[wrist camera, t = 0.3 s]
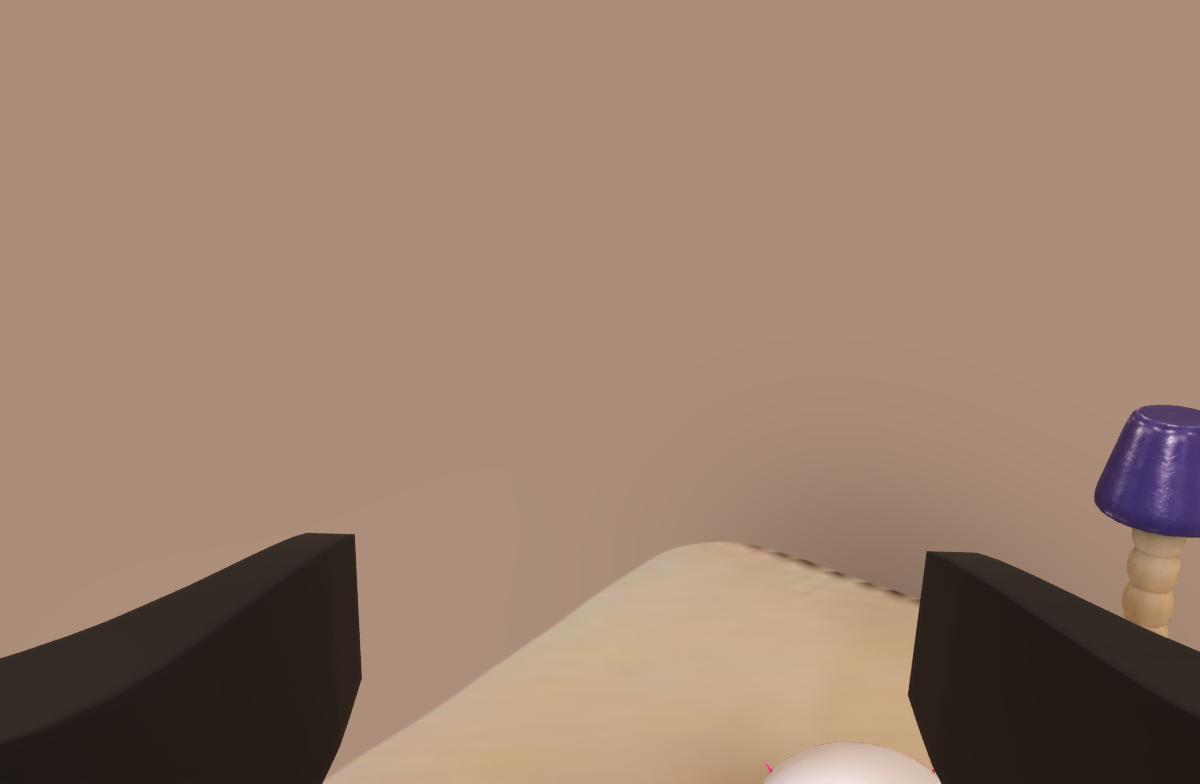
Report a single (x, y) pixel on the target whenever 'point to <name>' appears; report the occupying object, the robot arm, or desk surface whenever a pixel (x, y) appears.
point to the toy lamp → (1154, 504)
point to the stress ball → (850, 766)
